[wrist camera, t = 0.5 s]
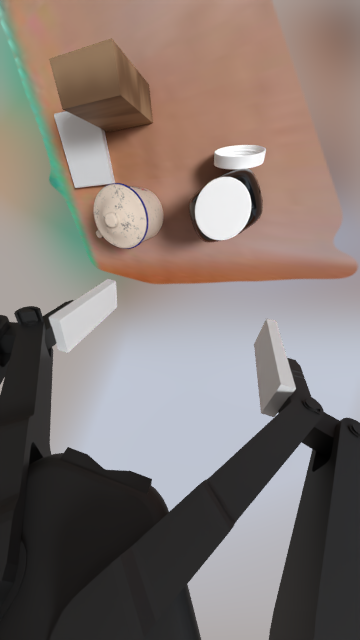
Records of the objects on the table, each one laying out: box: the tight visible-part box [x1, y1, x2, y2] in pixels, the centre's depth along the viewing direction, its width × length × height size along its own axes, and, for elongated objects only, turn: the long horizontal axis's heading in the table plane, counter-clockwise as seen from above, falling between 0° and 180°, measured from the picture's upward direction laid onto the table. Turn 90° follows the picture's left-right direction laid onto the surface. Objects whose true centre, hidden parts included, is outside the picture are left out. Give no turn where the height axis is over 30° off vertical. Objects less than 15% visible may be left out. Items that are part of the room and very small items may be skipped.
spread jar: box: [189, 145, 266, 242], centre depth 28 cm, size 12×11×12 cm
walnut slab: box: [49, 39, 153, 132], centre depth 26 cm, size 4×8×10 cm, turn 94°
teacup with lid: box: [94, 183, 163, 249], centre depth 33 cm, size 12×9×12 cm
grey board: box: [54, 111, 115, 188], centre depth 34 cm, size 10×8×1 cm
